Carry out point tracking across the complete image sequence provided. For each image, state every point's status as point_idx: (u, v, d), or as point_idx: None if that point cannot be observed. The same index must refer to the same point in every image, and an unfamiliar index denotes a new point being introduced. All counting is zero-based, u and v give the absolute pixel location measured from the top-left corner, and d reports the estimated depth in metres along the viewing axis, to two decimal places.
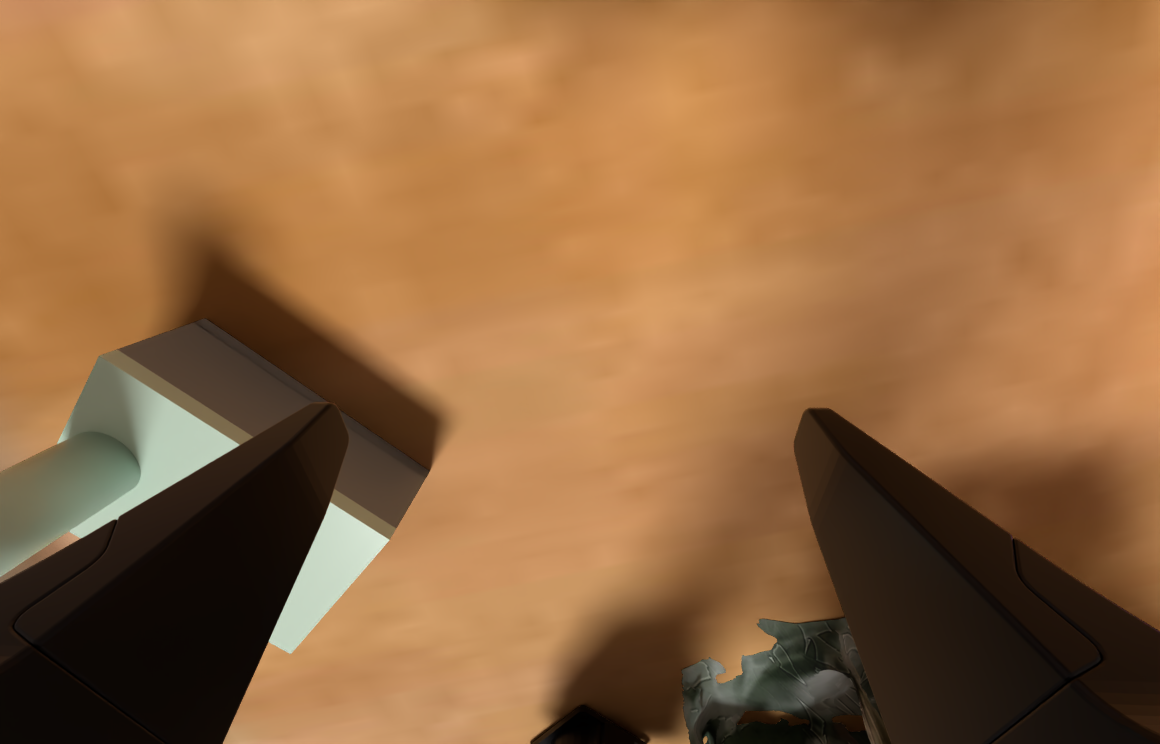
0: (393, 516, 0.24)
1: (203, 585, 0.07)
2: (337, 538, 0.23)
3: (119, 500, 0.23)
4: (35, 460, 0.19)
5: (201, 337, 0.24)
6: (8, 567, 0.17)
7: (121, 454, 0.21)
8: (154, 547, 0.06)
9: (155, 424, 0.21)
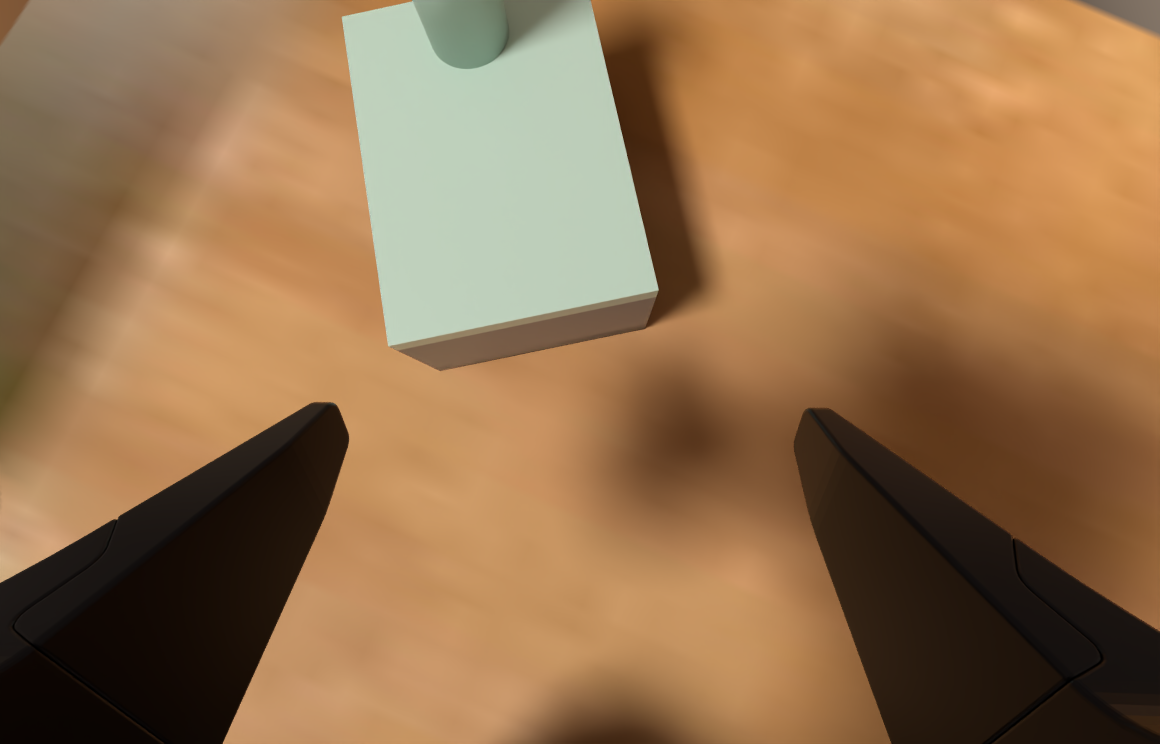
0: None
1: (203, 585, 0.07)
2: (605, 250, 0.18)
3: (437, 68, 0.20)
4: None
5: None
6: None
7: (505, 31, 0.19)
8: (154, 547, 0.06)
9: (559, 37, 0.20)
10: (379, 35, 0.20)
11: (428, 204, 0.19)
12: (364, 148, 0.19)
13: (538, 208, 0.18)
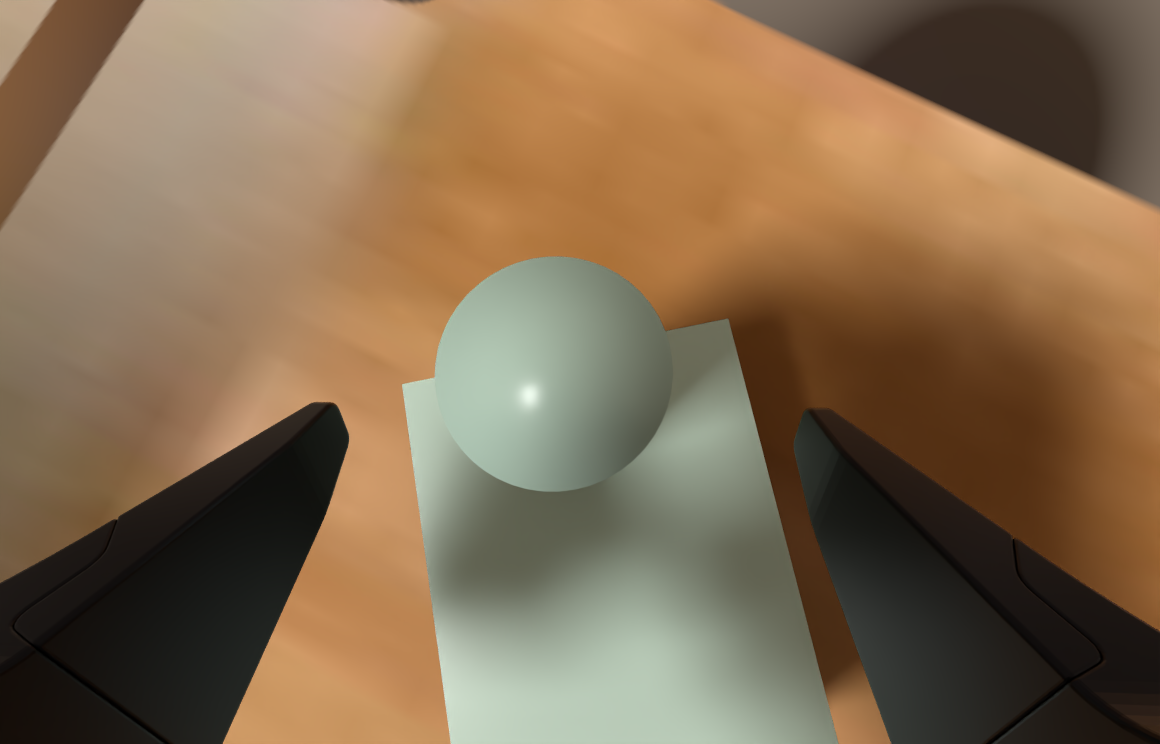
0: None
1: (203, 585, 0.07)
2: None
3: None
4: None
5: None
6: None
7: None
8: (154, 547, 0.06)
9: (702, 428, 0.14)
10: None
11: (528, 687, 0.13)
12: (436, 592, 0.14)
13: (684, 700, 0.13)
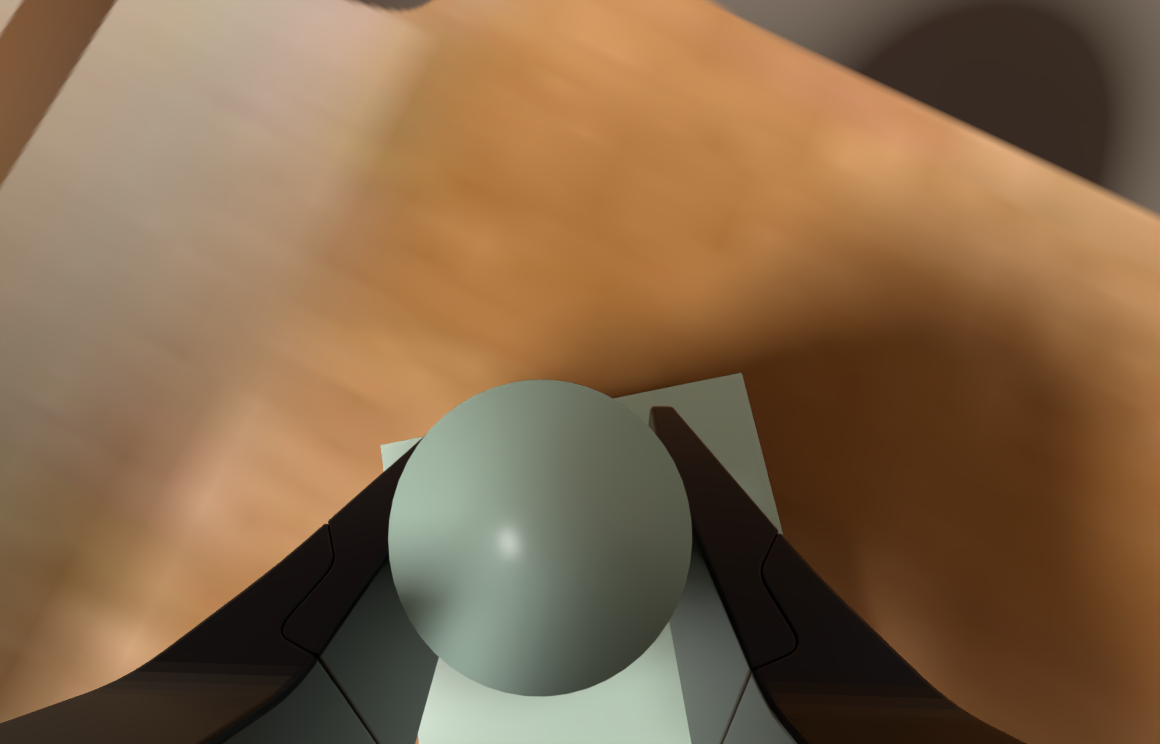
0: None
1: None
2: None
3: None
4: None
5: None
6: None
7: None
8: (381, 552, 0.06)
9: None
10: None
11: None
12: None
13: None
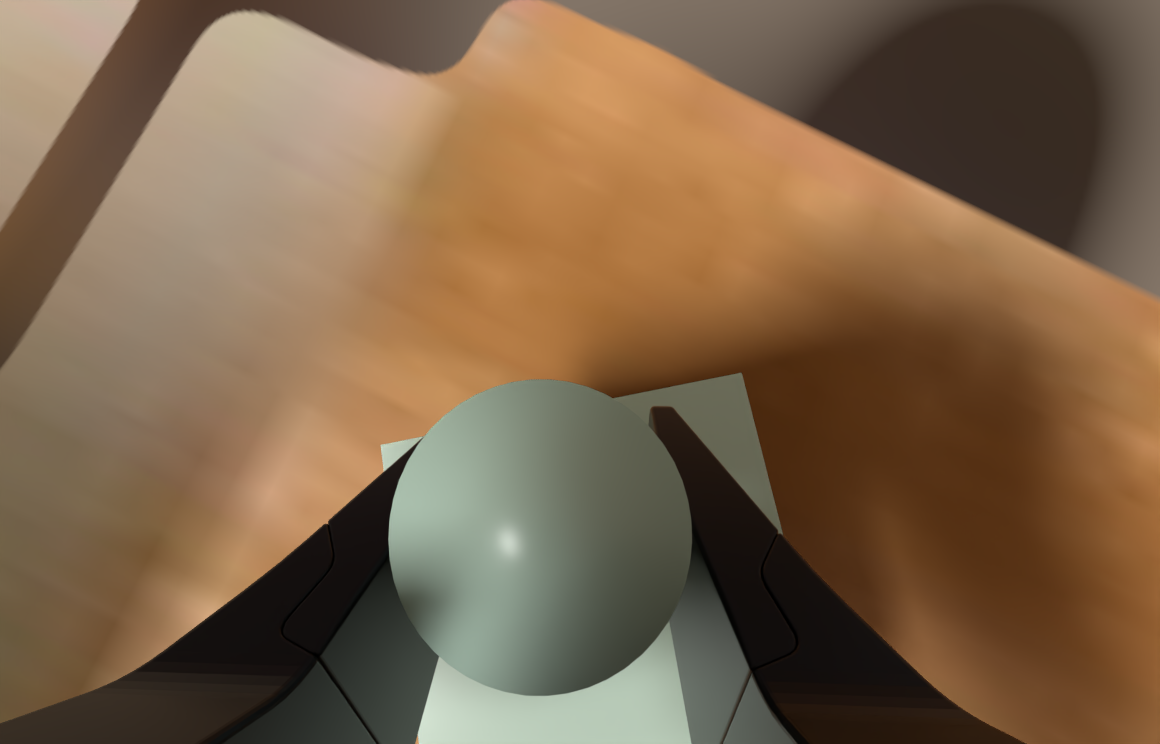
0: None
1: None
2: None
3: None
4: None
5: None
6: None
7: None
8: (381, 552, 0.06)
9: None
10: None
11: None
12: None
13: None
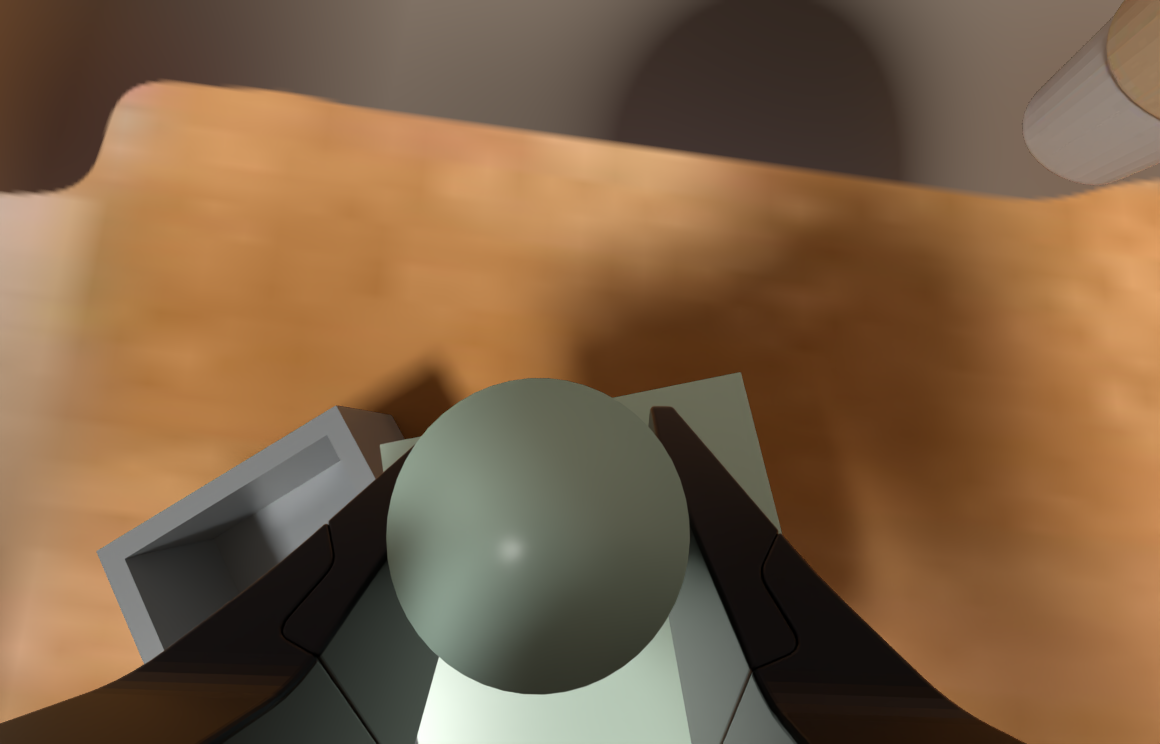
0: None
1: None
2: None
3: None
4: None
5: (388, 431, 0.22)
6: None
7: None
8: (381, 552, 0.06)
9: None
10: None
11: None
12: None
13: None
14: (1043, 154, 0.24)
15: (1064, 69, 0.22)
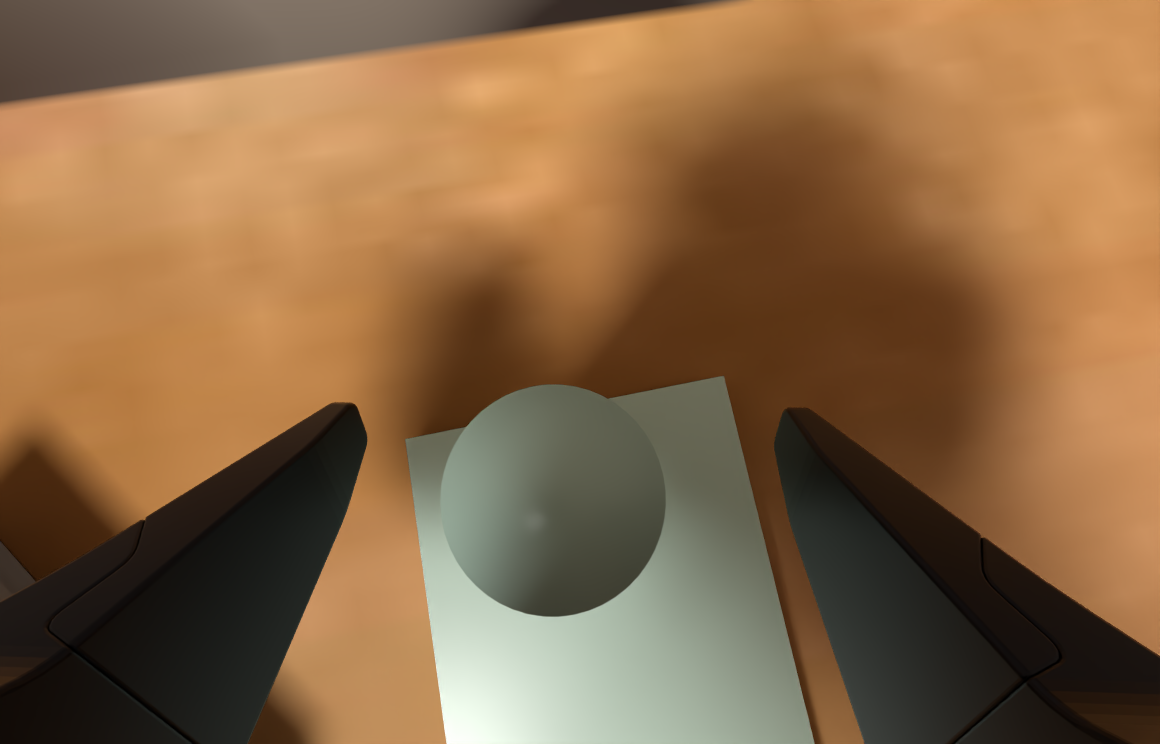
0: None
1: (230, 585, 0.07)
2: None
3: None
4: None
5: None
6: None
7: None
8: (184, 547, 0.06)
9: (698, 484, 0.15)
10: None
11: (527, 738, 0.14)
12: (439, 644, 0.14)
13: None
14: None
15: None
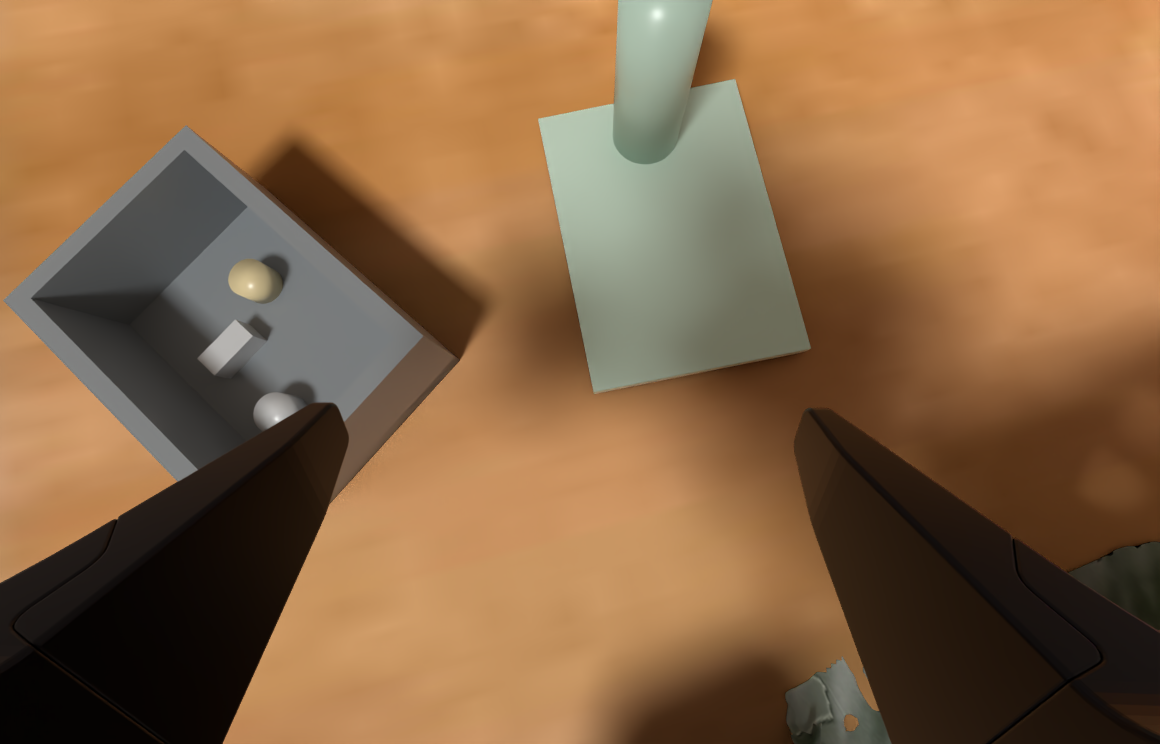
0: (421, 332, 0.19)
1: (203, 585, 0.07)
2: (766, 315, 0.23)
3: (620, 163, 0.24)
4: None
5: (259, 184, 0.24)
6: (669, 82, 0.19)
7: (678, 135, 0.24)
8: (154, 547, 0.06)
9: (719, 139, 0.24)
10: (570, 135, 0.24)
11: (619, 276, 0.23)
12: (564, 229, 0.24)
13: (709, 280, 0.23)
14: None
15: None
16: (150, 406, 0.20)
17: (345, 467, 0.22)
